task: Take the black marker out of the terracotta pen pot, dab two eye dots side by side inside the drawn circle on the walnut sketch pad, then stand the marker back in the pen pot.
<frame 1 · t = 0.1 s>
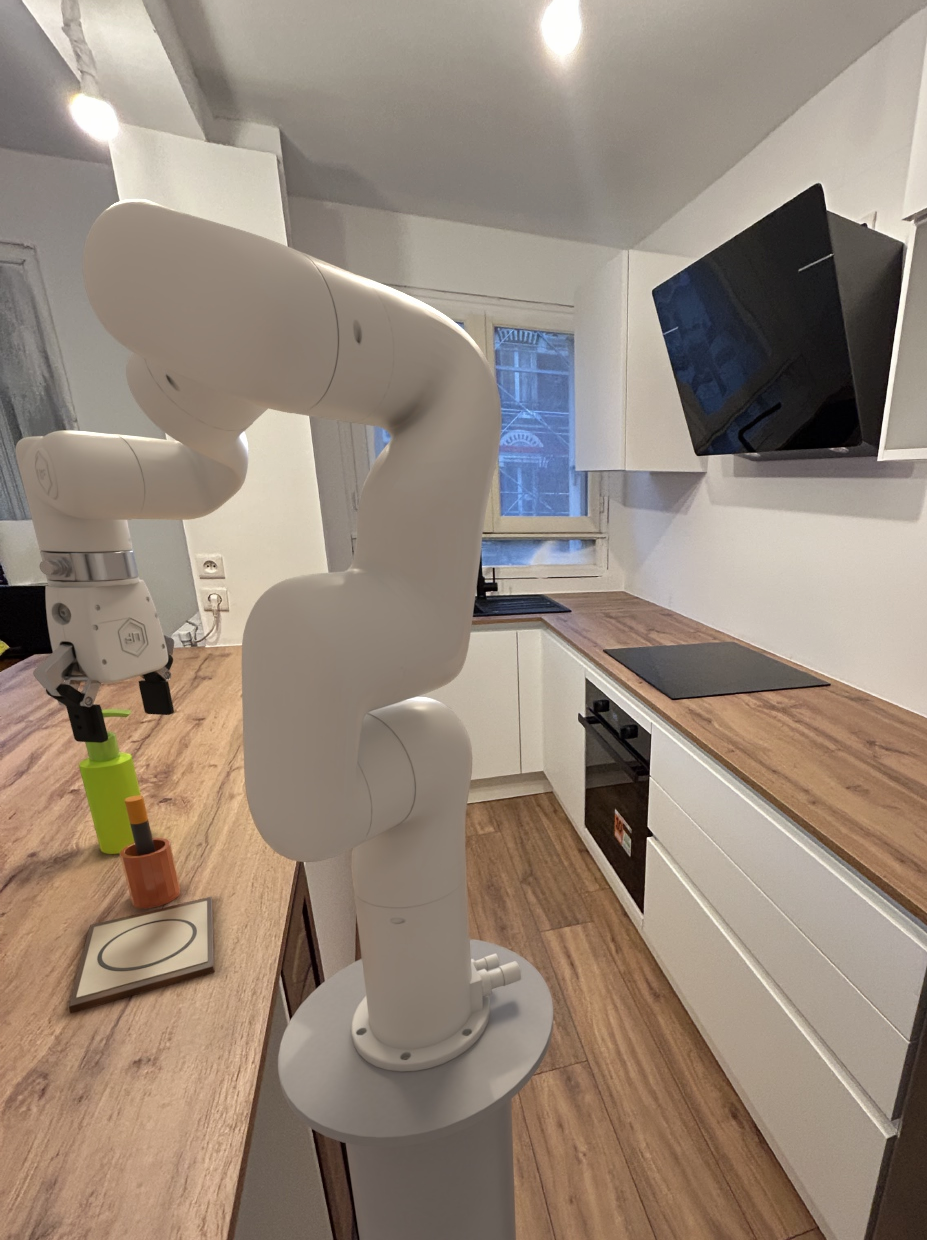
hand: (128, 726, 72), 23 cm above the table, tool pointing down, fingers open, 9 cm apart
pen pot: (156, 897, 81), on the table
marker: (155, 893, 81), point 1 cm above the table, touching pen pot
soap dispenser: (130, 844, 93), on the table
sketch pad: (150, 950, 71), on the table
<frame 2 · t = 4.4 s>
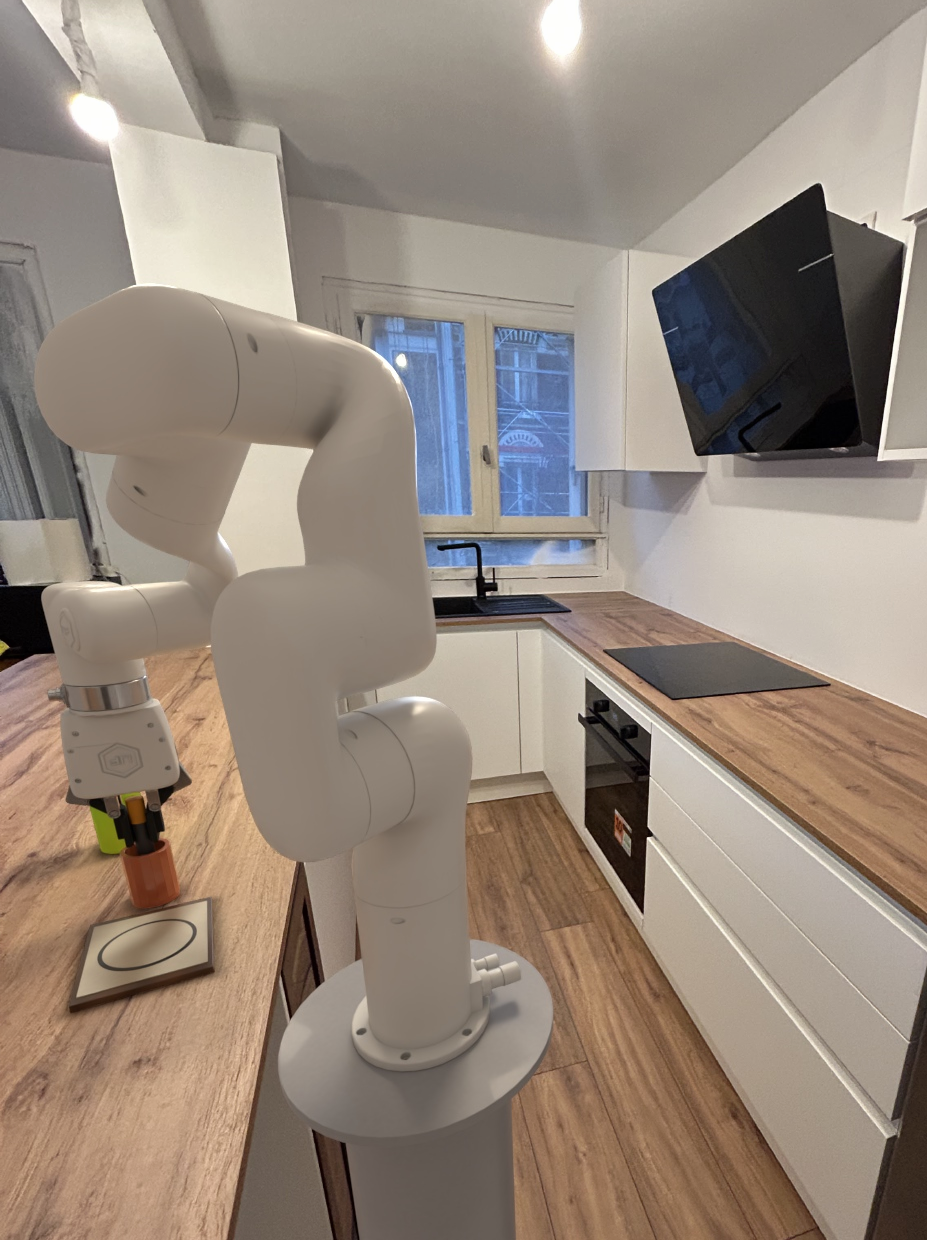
hand: (143, 839, 78), 8 cm above the table, tool pointing down, fingers closed on marker, 1 cm apart
marker: (156, 893, 81), point 1 cm above the table, touching gripper
everything else where it was.
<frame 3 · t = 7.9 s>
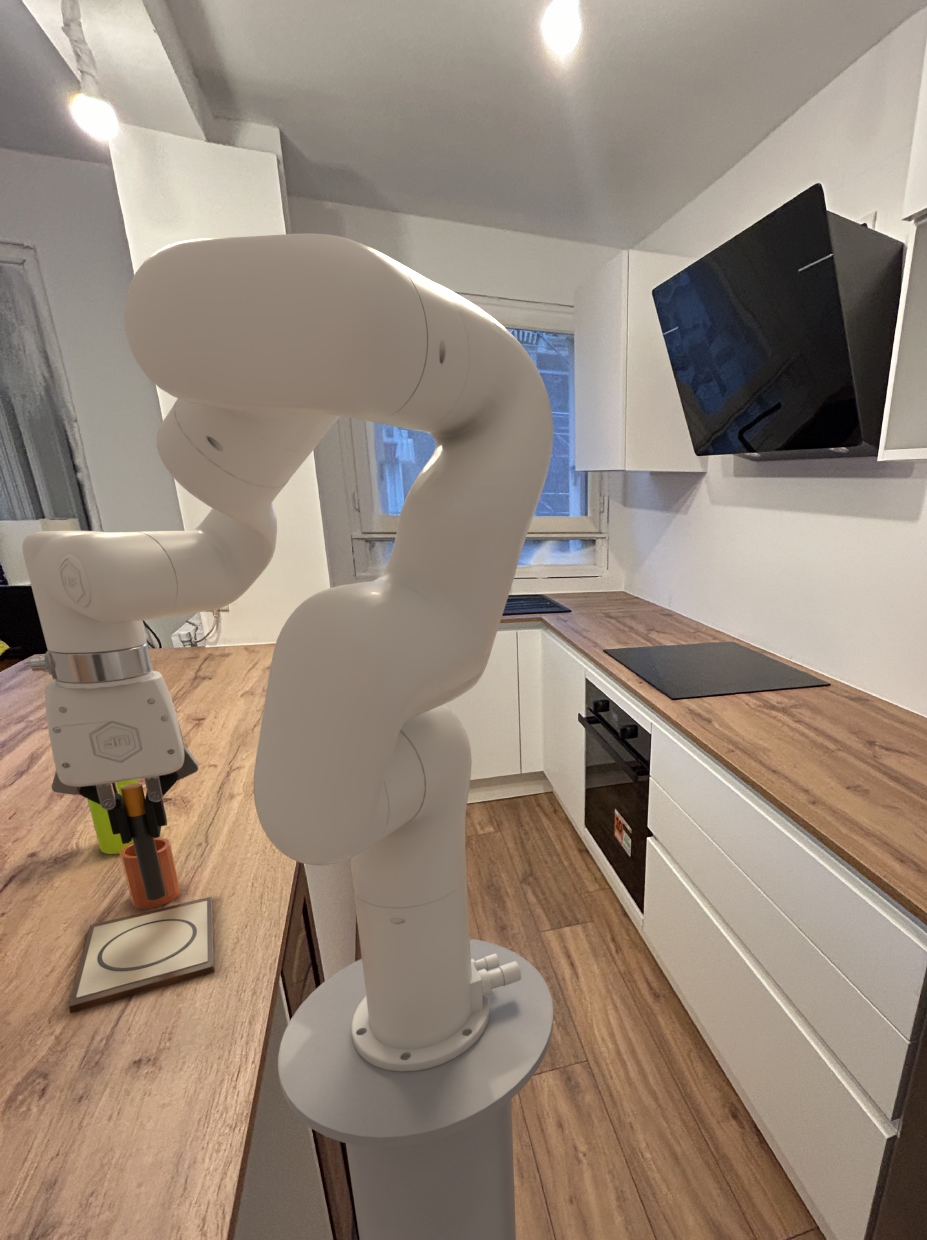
hand: (142, 834, 68), 14 cm above the table, tool pointing down, fingers closed on marker
marker: (156, 895, 70), point 6 cm above the table, touching gripper
everything else where it was.
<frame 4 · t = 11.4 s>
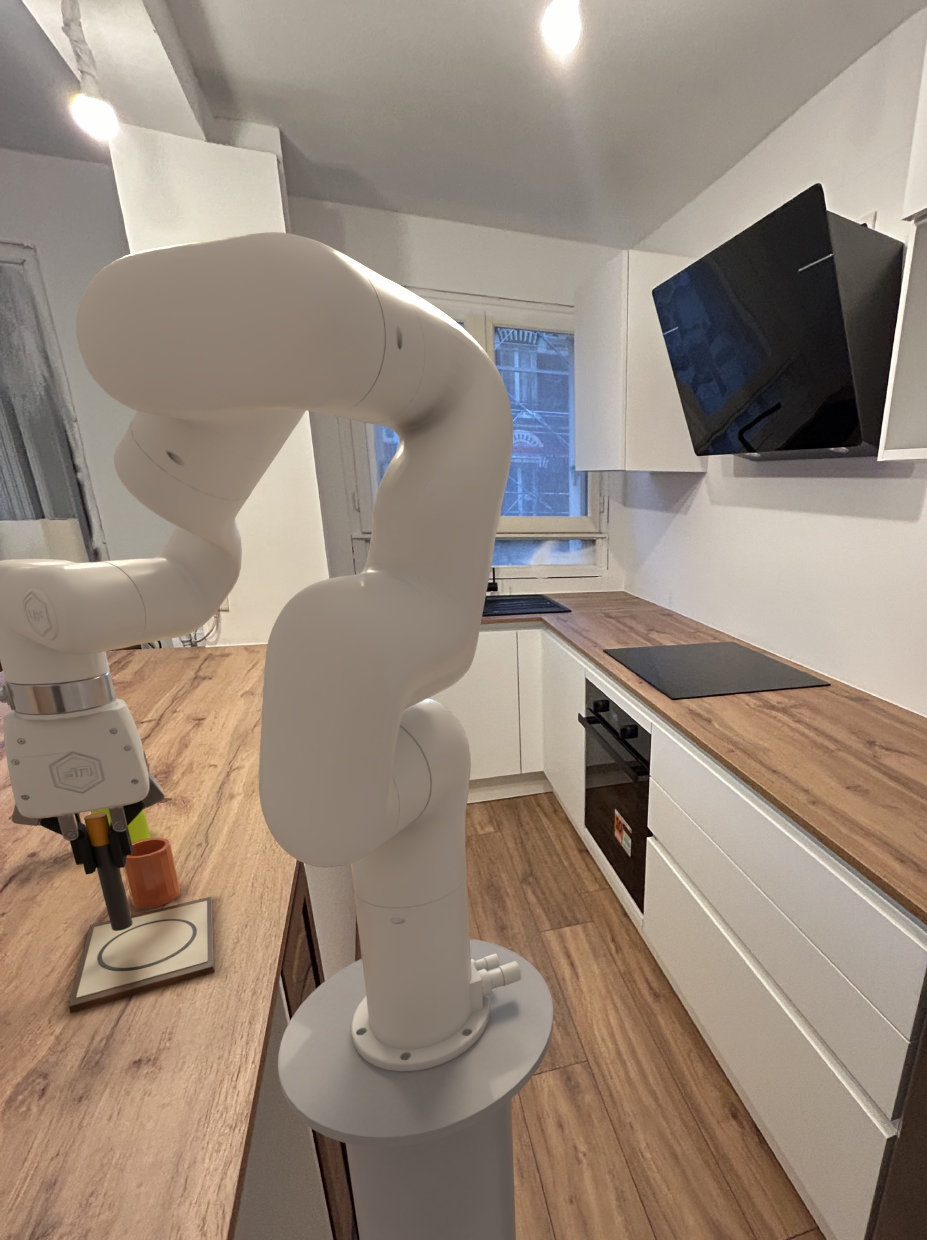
hand: (107, 863, 67), 11 cm above the table, tool pointing down, fingers closed on marker
marker: (122, 926, 69), point 4 cm above the table, touching gripper
everything else where it was.
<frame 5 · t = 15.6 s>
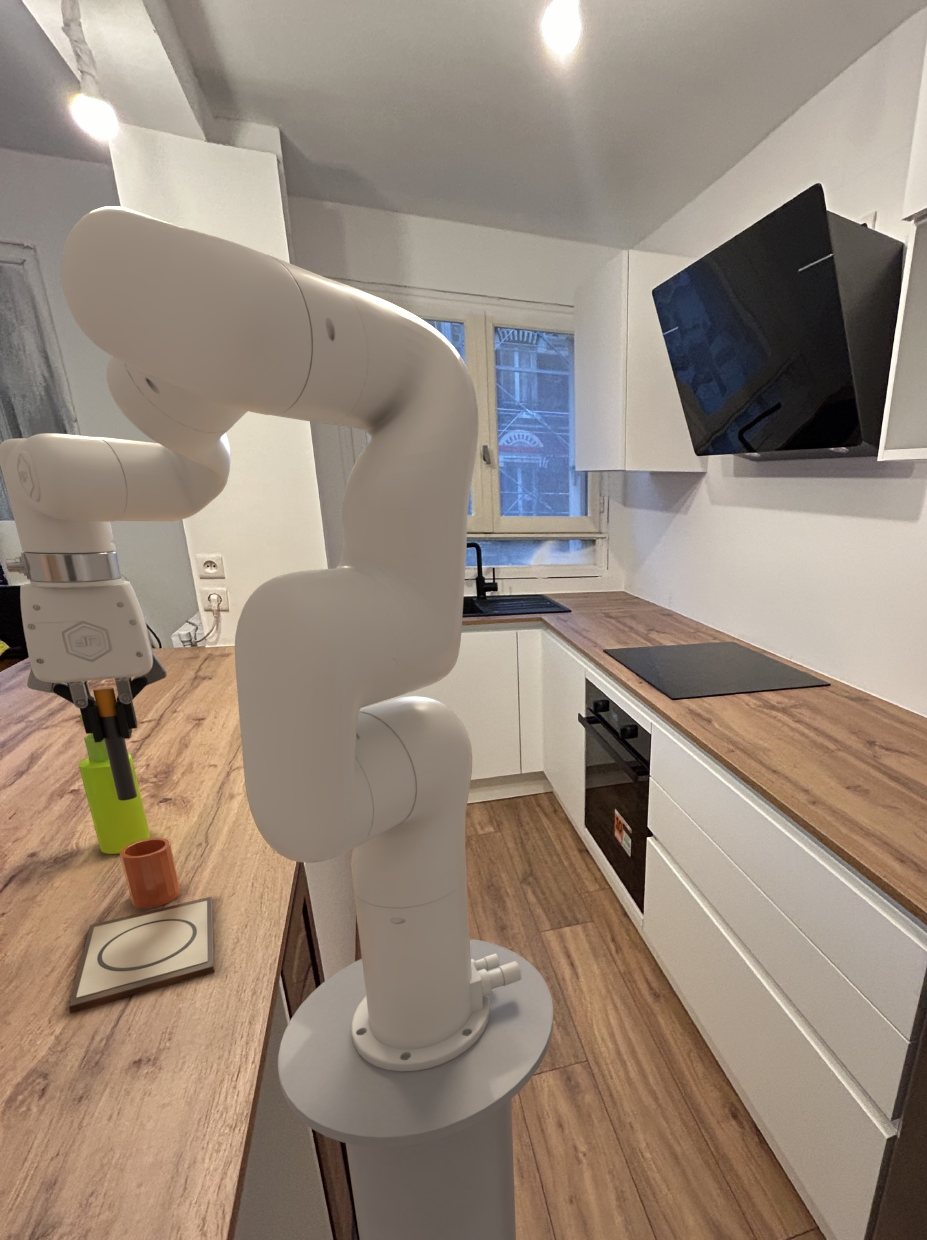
hand: (113, 735, 73), 22 cm above the table, tool pointing down, fingers closed on marker
marker: (127, 797, 75), point 14 cm above the table, touching gripper
everything else where it was.
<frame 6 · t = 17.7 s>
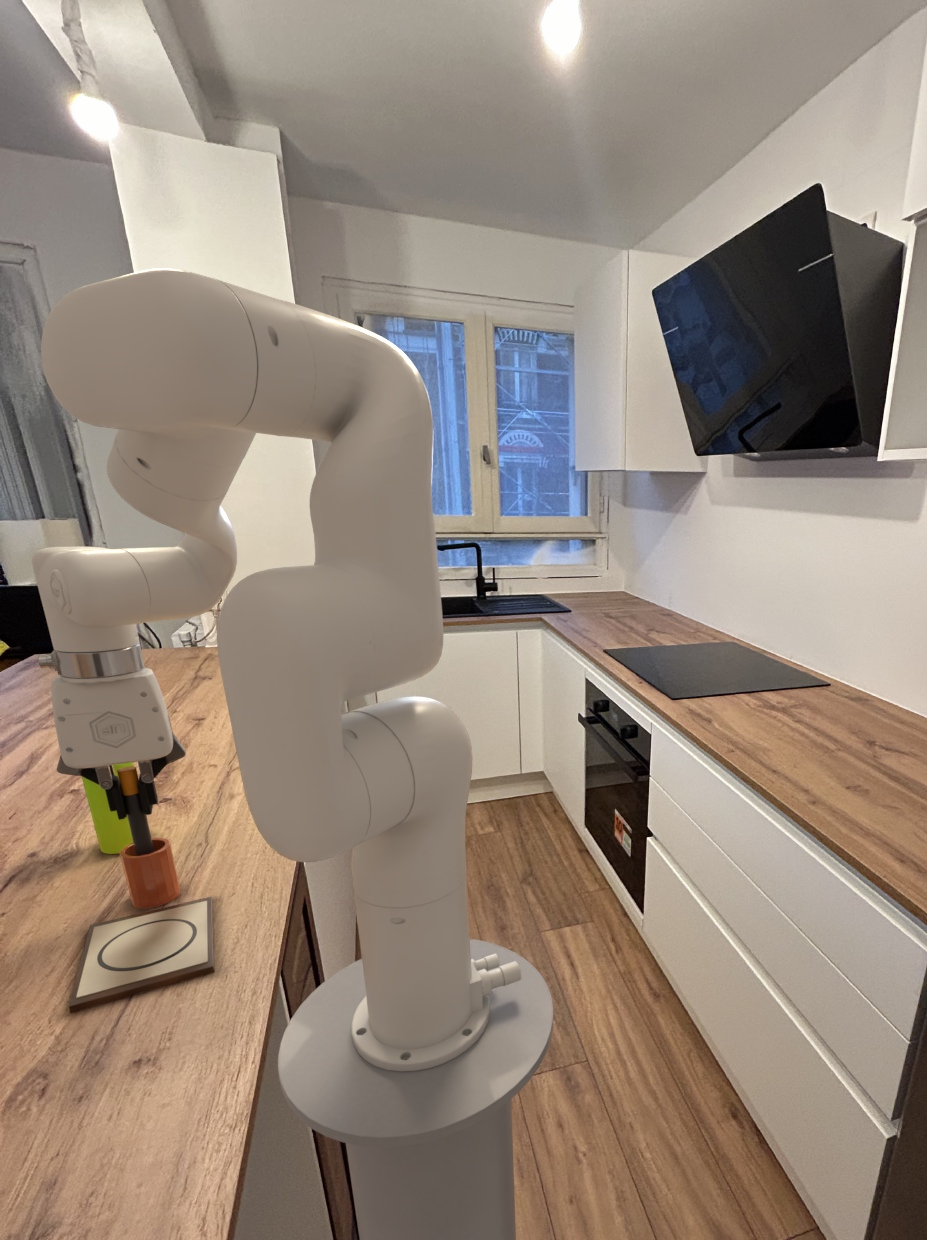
hand: (136, 811, 77), 12 cm above the table, tool pointing down, fingers closed on marker
marker: (148, 867, 79), point 4 cm above the table, touching gripper
everything else where it was.
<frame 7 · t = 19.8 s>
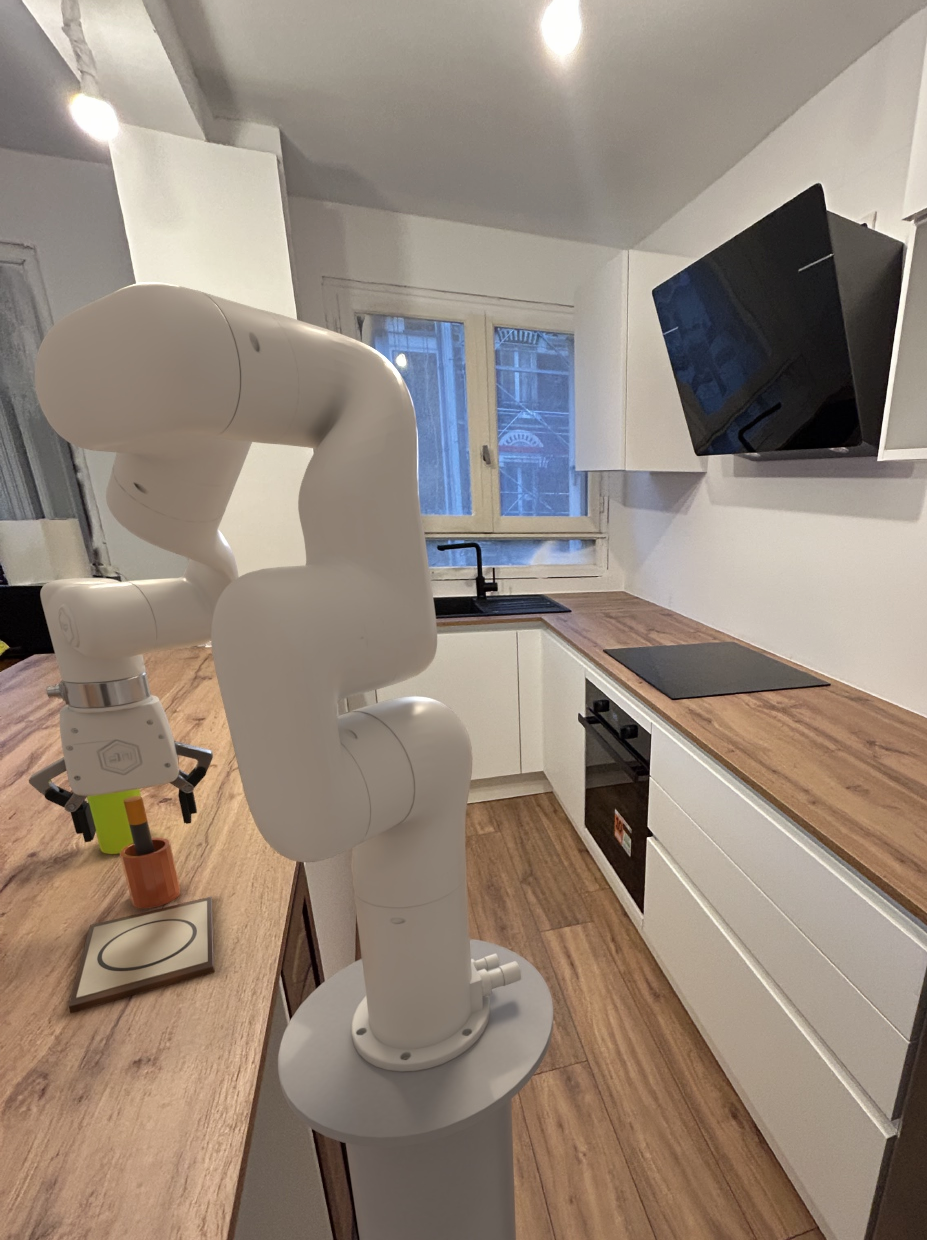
hand: (141, 828, 78), 10 cm above the table, tool pointing down, fingers open, 9 cm apart
marker: (155, 893, 80), point 1 cm above the table, touching pen pot
everything else where it was.
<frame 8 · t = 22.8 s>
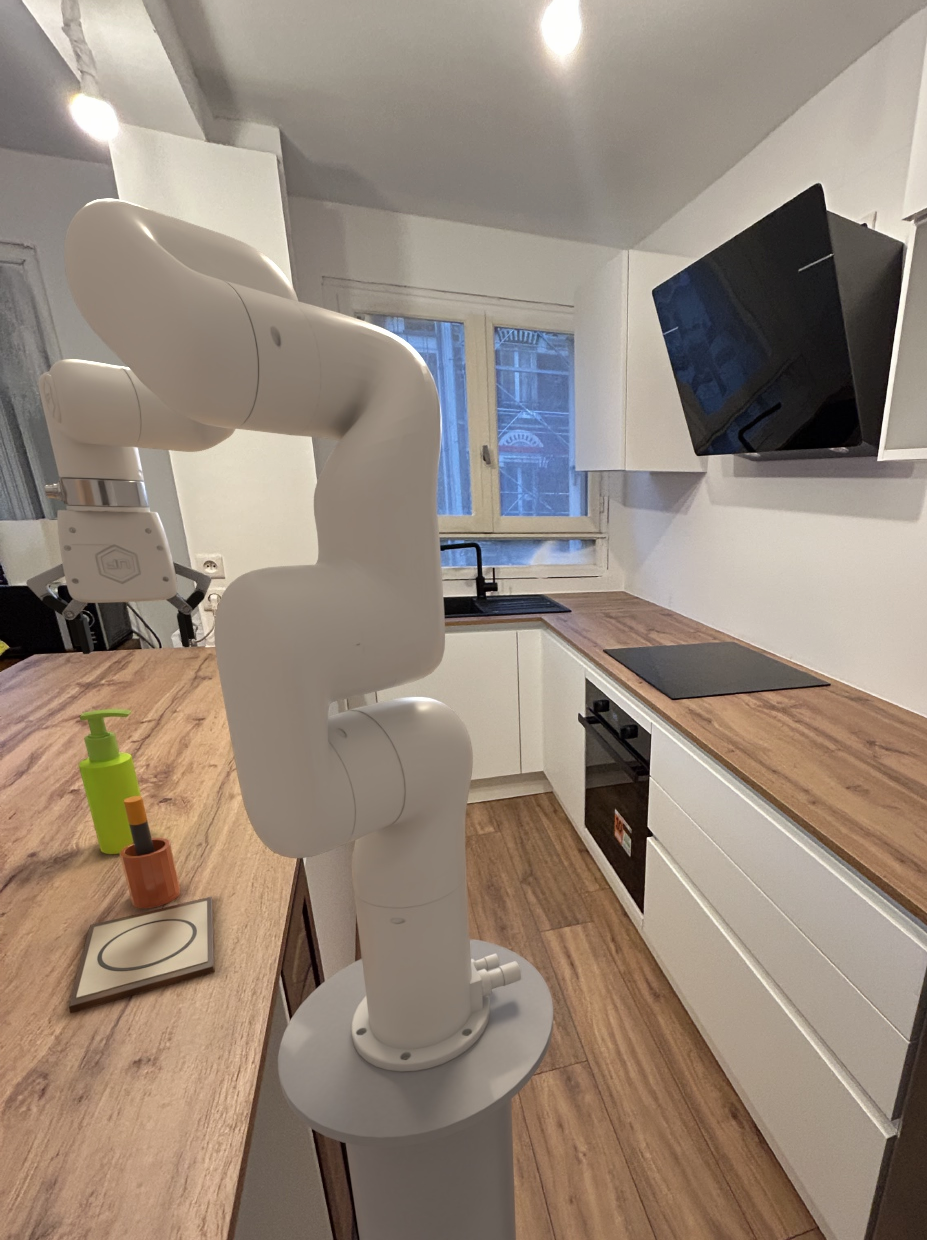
hand: (139, 648, 78), 30 cm above the table, tool pointing down, fingers open, 9 cm apart
nothing on the table moved.
at the end: marker 0.2 cm off-centre in the pen pot, point 0.6 cm above the pen pot's base; marker tilted 0°; the gripper is holding nothing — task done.
